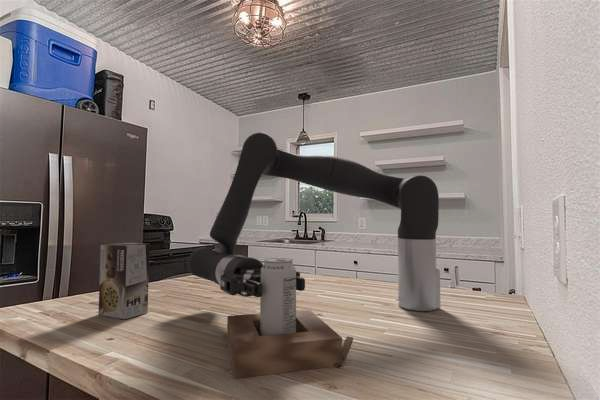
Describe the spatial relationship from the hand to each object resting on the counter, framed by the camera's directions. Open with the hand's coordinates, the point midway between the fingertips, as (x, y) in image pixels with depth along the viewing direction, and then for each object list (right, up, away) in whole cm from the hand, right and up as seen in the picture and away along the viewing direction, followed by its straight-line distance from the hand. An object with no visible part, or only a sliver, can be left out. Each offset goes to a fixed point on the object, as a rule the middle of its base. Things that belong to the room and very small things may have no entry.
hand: (282, 287), depth 55 cm
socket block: (-1, -10, 0) cm, 11 cm away
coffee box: (-38, -12, +21) cm, 45 cm away
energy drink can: (-1, -11, 0) cm, 11 cm away
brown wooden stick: (+10, -11, 0) cm, 15 cm away
